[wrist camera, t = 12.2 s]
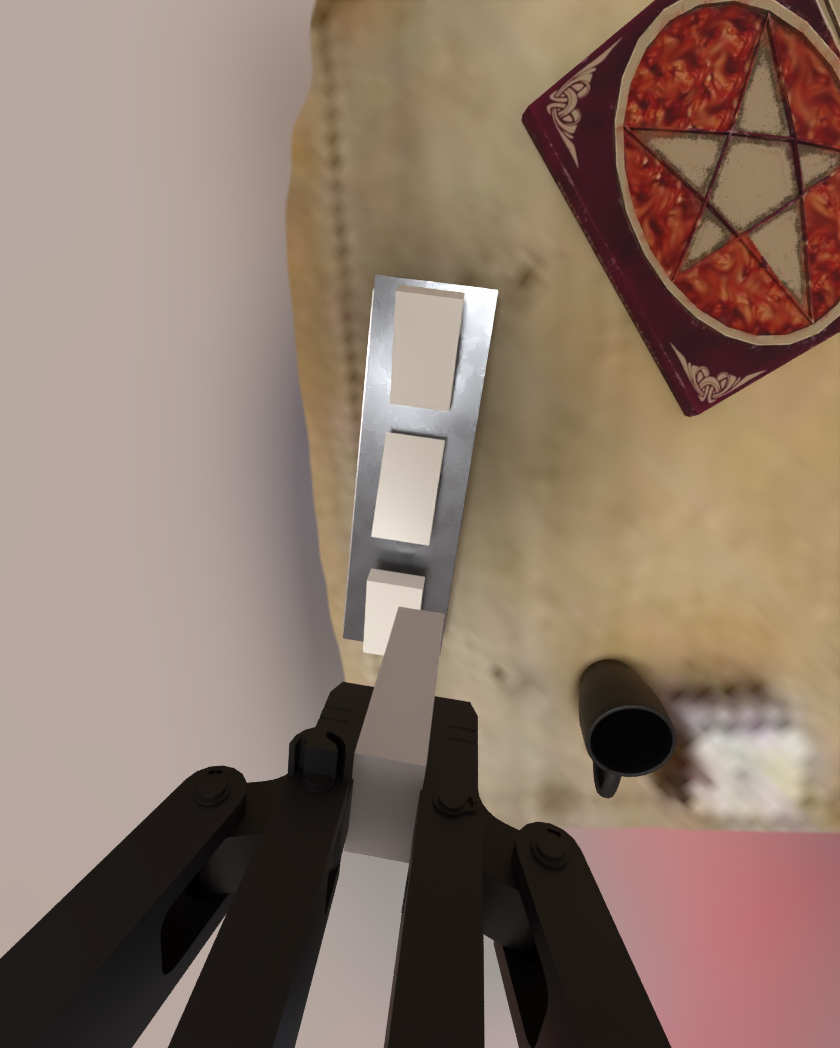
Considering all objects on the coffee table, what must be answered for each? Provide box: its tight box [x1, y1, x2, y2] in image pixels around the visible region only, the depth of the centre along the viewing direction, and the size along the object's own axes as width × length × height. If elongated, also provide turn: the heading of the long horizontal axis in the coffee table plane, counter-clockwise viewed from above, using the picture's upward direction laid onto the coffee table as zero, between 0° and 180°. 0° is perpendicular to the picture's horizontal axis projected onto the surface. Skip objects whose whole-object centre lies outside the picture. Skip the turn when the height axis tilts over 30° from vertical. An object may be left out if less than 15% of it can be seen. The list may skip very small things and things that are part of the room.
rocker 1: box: [390, 285, 465, 412], centre depth 43 cm, size 9×5×3 cm, turn 173°
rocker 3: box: [363, 568, 425, 655], centre depth 50 cm, size 9×5×3 cm, turn 173°
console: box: [343, 275, 498, 652], centre depth 51 cm, size 34×10×5 cm, turn 173°
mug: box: [579, 660, 677, 798], centre depth 54 cm, size 8×12×10 cm
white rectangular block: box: [371, 432, 445, 546], centre depth 46 cm, size 9×5×3 cm, turn 172°
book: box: [522, 0, 840, 417], centre depth 41 cm, size 28×21×5 cm
